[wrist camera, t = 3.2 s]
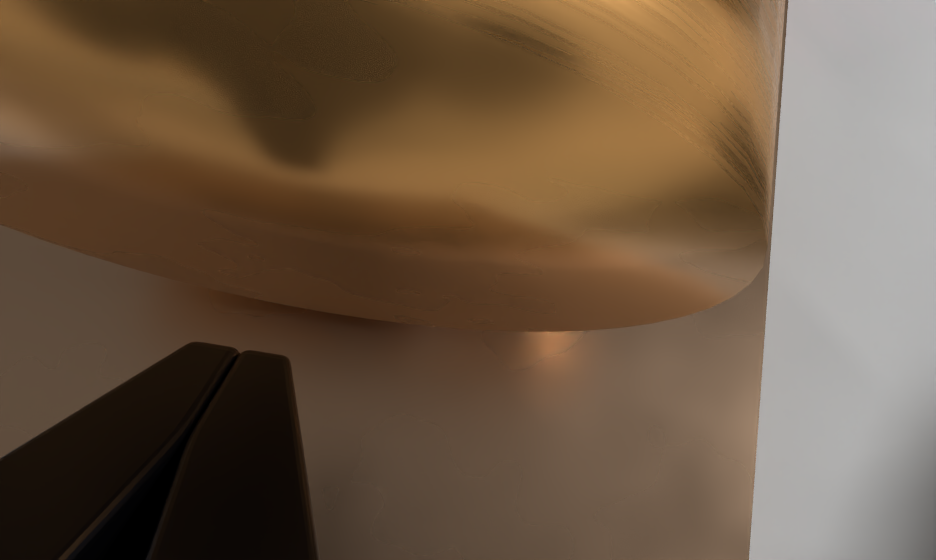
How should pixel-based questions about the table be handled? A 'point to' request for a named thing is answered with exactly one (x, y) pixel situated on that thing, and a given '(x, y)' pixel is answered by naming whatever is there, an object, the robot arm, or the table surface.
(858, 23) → the table surface
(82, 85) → the gold rounded piece
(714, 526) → the housing
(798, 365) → the table surface
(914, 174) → the table surface
